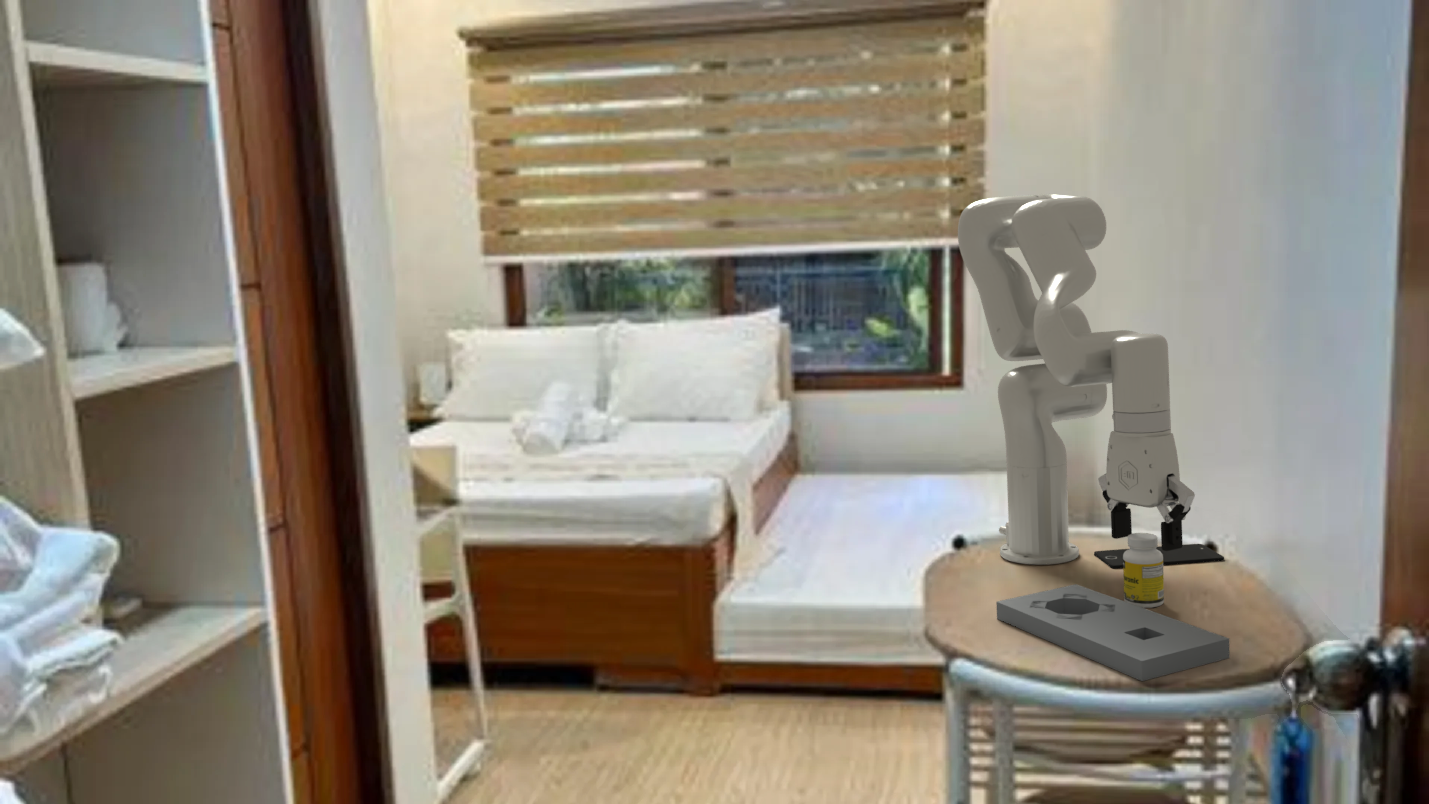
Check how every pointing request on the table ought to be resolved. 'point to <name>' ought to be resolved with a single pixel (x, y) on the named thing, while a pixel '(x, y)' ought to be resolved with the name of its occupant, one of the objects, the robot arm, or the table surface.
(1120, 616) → the socket plate
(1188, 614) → the table surface
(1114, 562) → the cell phone
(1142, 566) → the supplement bottle
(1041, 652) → the table surface
